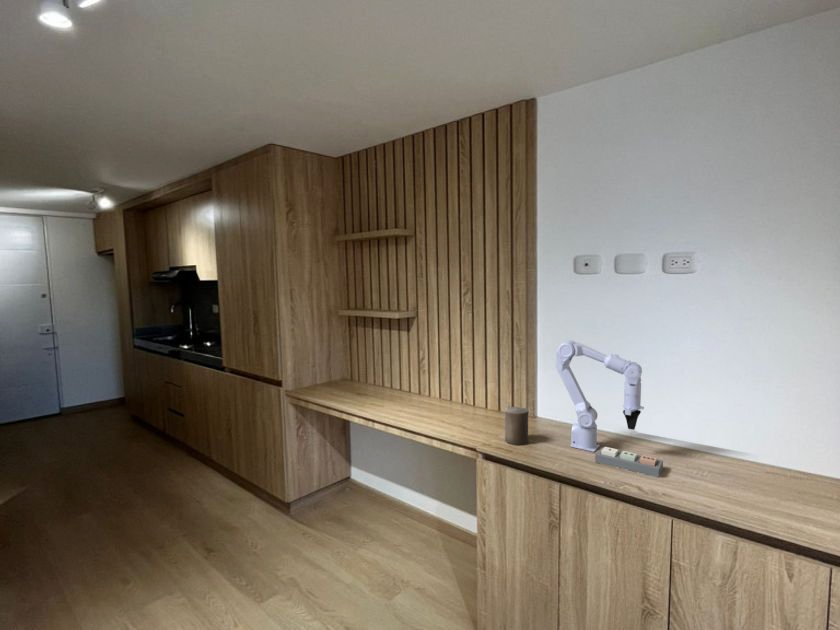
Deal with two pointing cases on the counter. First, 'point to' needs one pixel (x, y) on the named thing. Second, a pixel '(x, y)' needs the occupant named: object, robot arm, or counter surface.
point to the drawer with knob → (609, 451)
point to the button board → (629, 464)
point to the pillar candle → (516, 425)
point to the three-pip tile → (648, 460)
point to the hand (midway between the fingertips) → (631, 428)
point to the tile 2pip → (628, 456)
